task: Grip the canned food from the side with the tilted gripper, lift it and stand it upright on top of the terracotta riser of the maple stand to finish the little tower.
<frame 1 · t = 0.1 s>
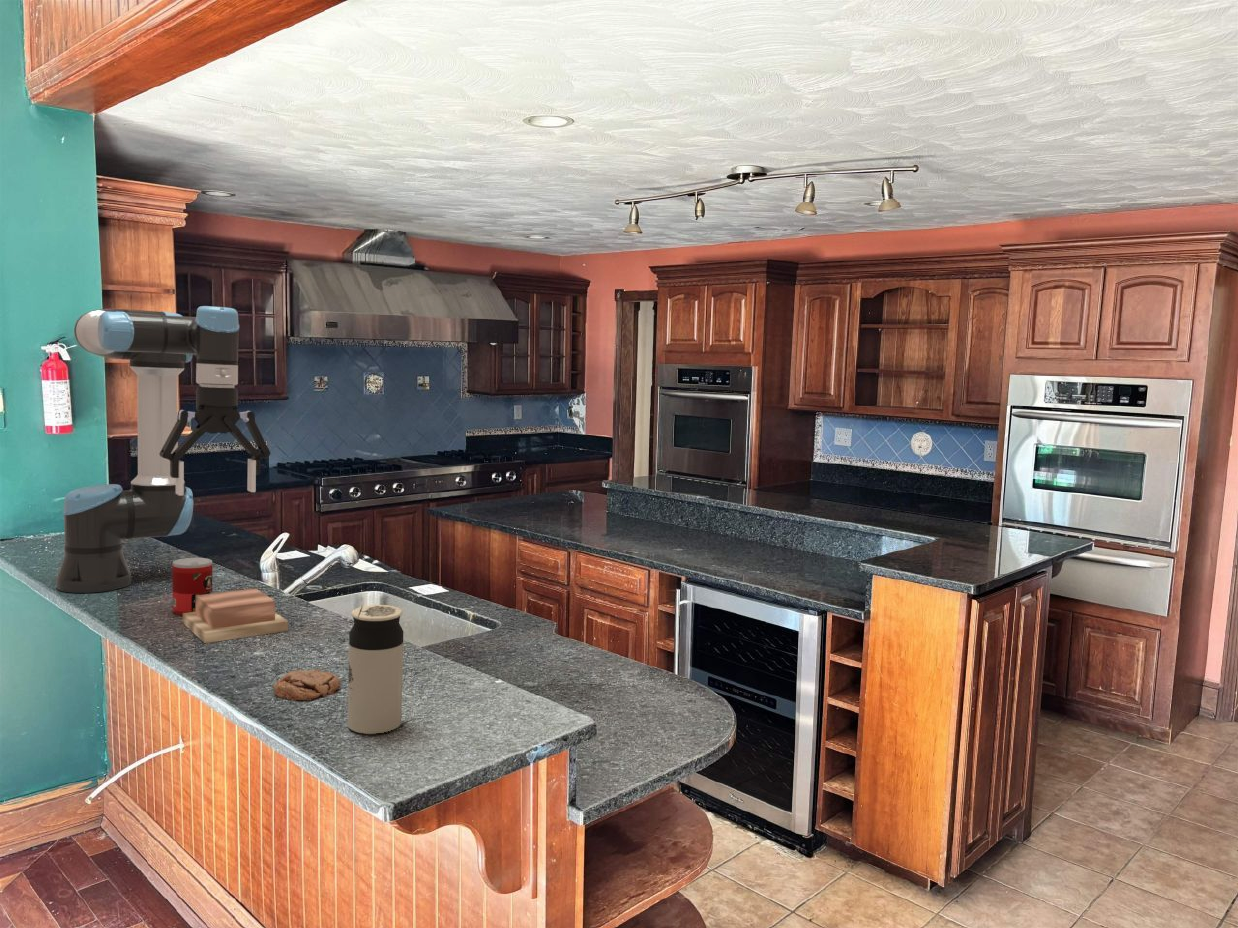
hand: (216, 493, 178), 28 cm above the countertop, tool pointing down, fingers open, 13 cm apart
canned food: (192, 612, 193), on the countertop
stand: (235, 626, 183), on the countertop
travel mug: (374, 726, 137), on the countertop
cookie: (306, 692, 150), on the countertop
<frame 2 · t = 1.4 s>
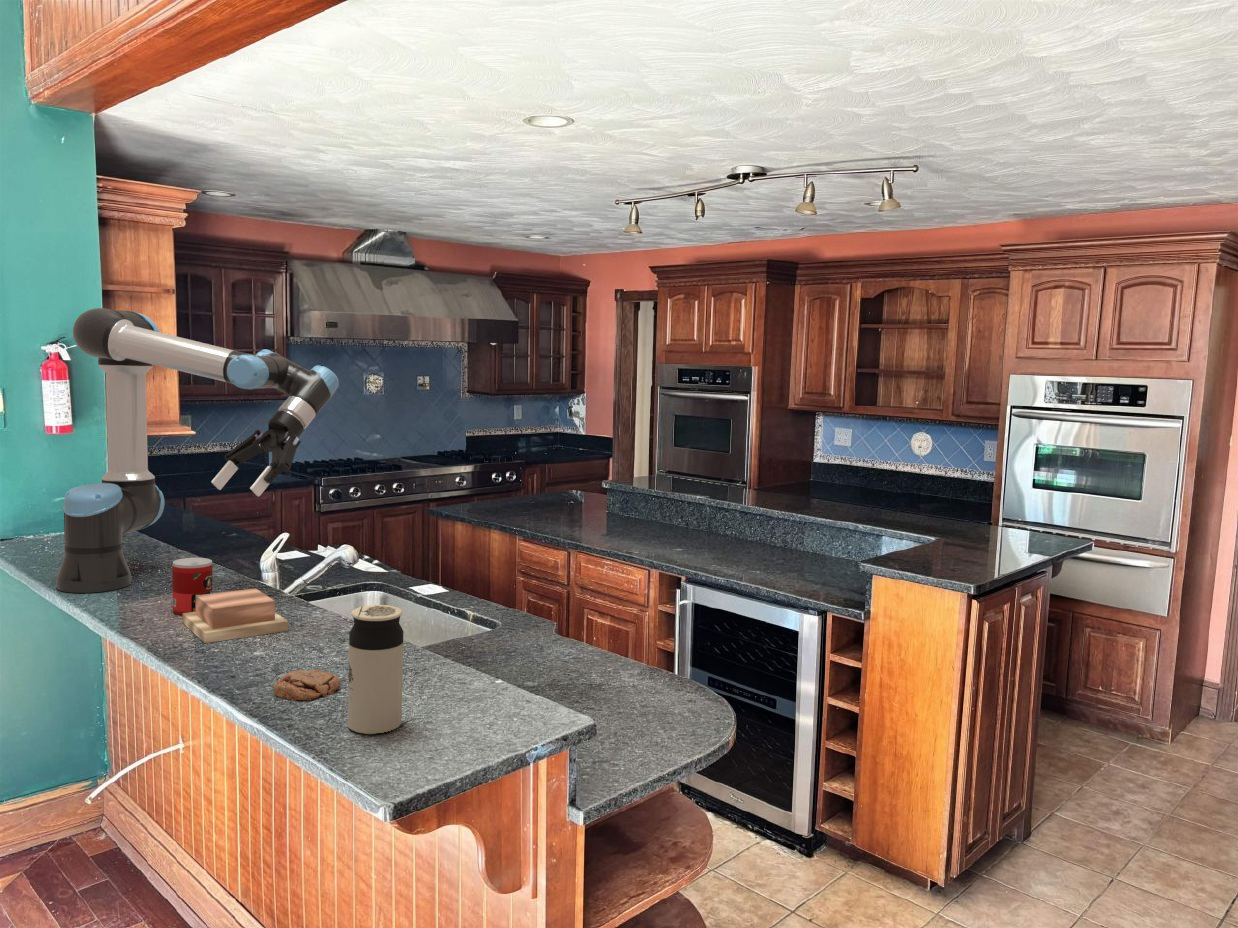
hand: (234, 489, 199), 26 cm above the countertop, tool tilted 45°, fingers open, 13 cm apart
nothing on the countertop moved.
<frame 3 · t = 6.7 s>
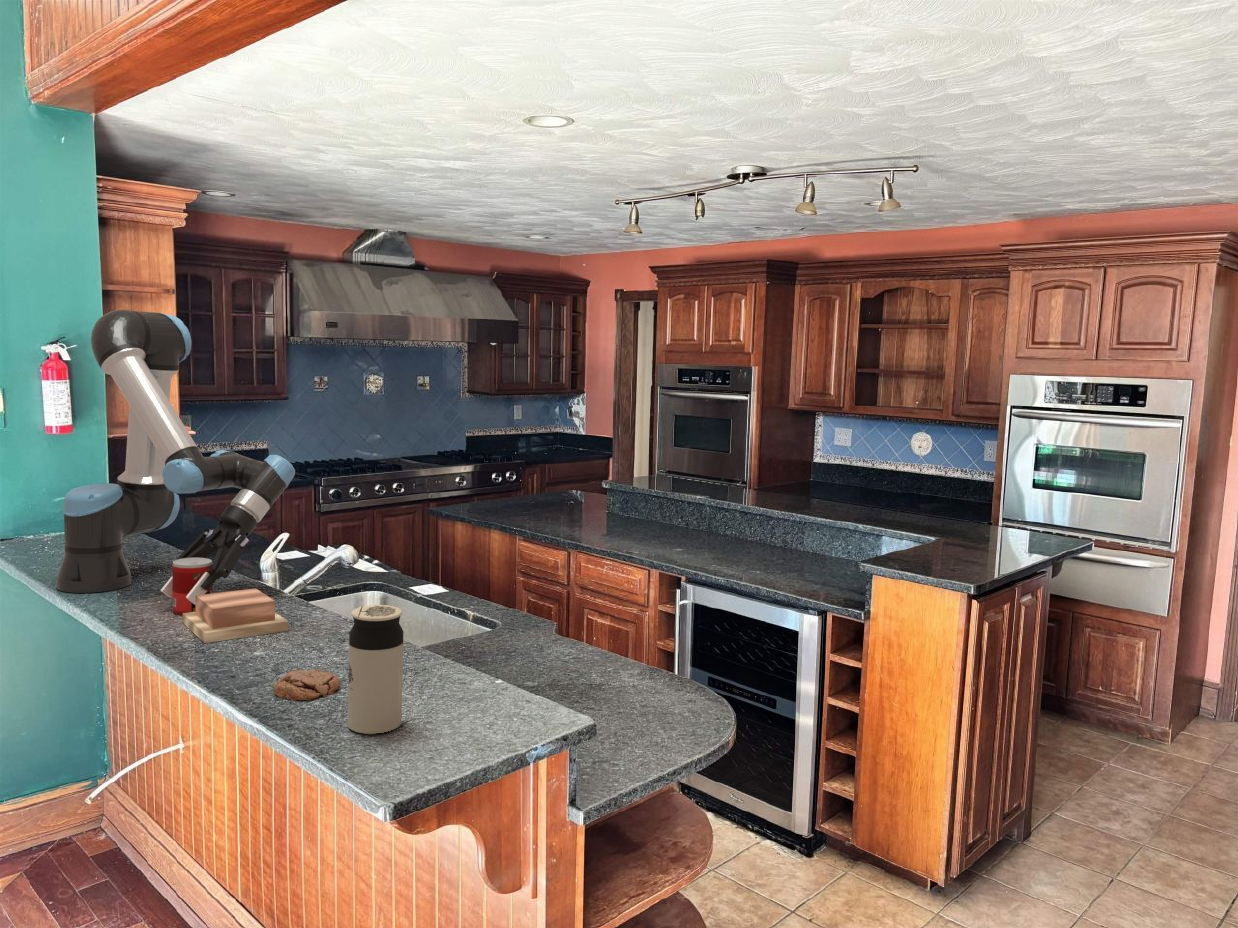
hand: (178, 597, 189), 4 cm above the countertop, tool tilted 45°, fingers closed on canned food, 8 cm apart
canned food: (192, 611, 193), on the countertop, touching gripper
everything else where it was.
when the fingers open (11 cm above the countertop, at t = 12.0 s): canned food drops 1 cm, resting on stand.
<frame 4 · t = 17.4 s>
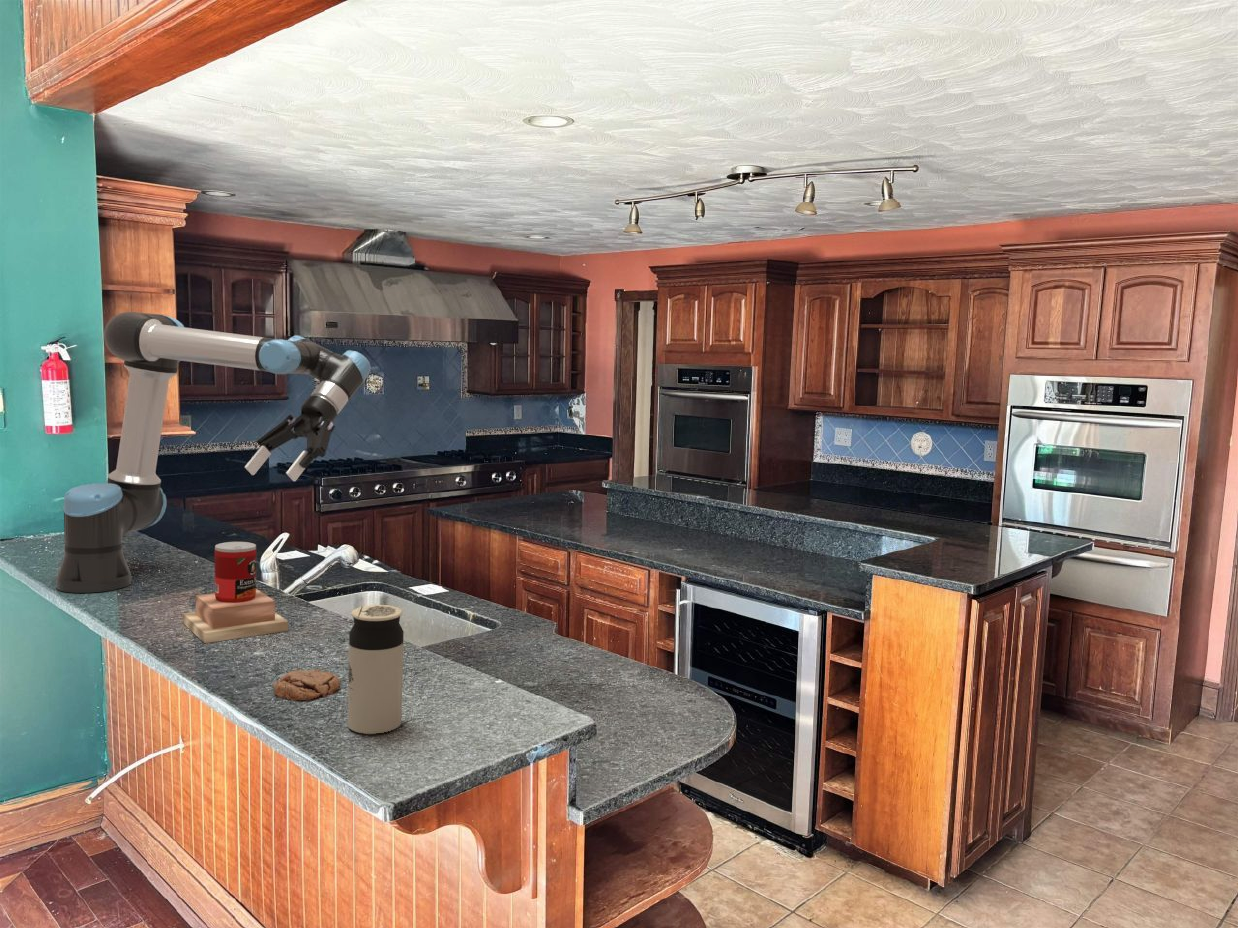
hand: (269, 474, 196), 30 cm above the countertop, tool tilted 45°, fingers open, 13 cm apart
canned food: (235, 599, 182), point 6 cm above the countertop, touching stand
everything else where it was.
at the end: canned food inside the target area on the stand (0.1 cm from its centre), point 5.8 cm above the stand's base; canned food tilted 0°; the gripper is holding nothing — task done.
